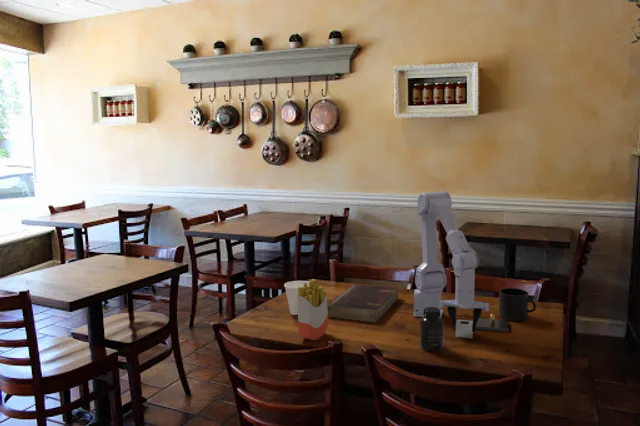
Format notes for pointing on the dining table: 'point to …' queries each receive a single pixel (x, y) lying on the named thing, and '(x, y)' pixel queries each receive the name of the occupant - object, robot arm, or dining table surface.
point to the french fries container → (312, 311)
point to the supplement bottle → (431, 330)
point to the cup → (293, 294)
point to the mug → (514, 304)
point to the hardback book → (363, 302)
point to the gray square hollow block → (464, 328)
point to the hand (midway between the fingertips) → (464, 330)
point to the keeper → (492, 324)
